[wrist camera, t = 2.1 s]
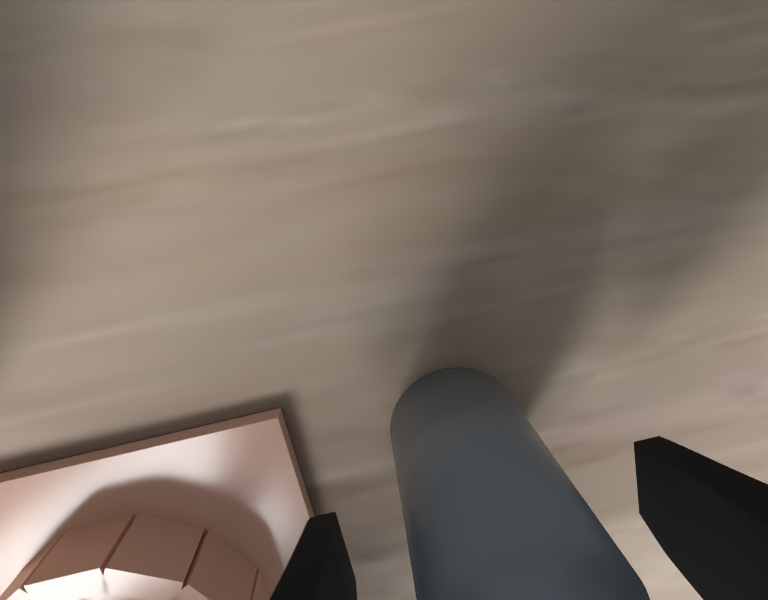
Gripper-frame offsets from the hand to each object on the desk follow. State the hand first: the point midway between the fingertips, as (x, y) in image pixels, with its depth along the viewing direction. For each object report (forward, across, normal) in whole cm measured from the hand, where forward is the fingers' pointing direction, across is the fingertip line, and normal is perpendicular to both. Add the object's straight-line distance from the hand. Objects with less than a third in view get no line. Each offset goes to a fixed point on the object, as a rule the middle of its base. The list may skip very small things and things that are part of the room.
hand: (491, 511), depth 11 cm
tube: (+4, 0, 0) cm, 4 cm away
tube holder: (+4, +11, +4) cm, 12 cm away
